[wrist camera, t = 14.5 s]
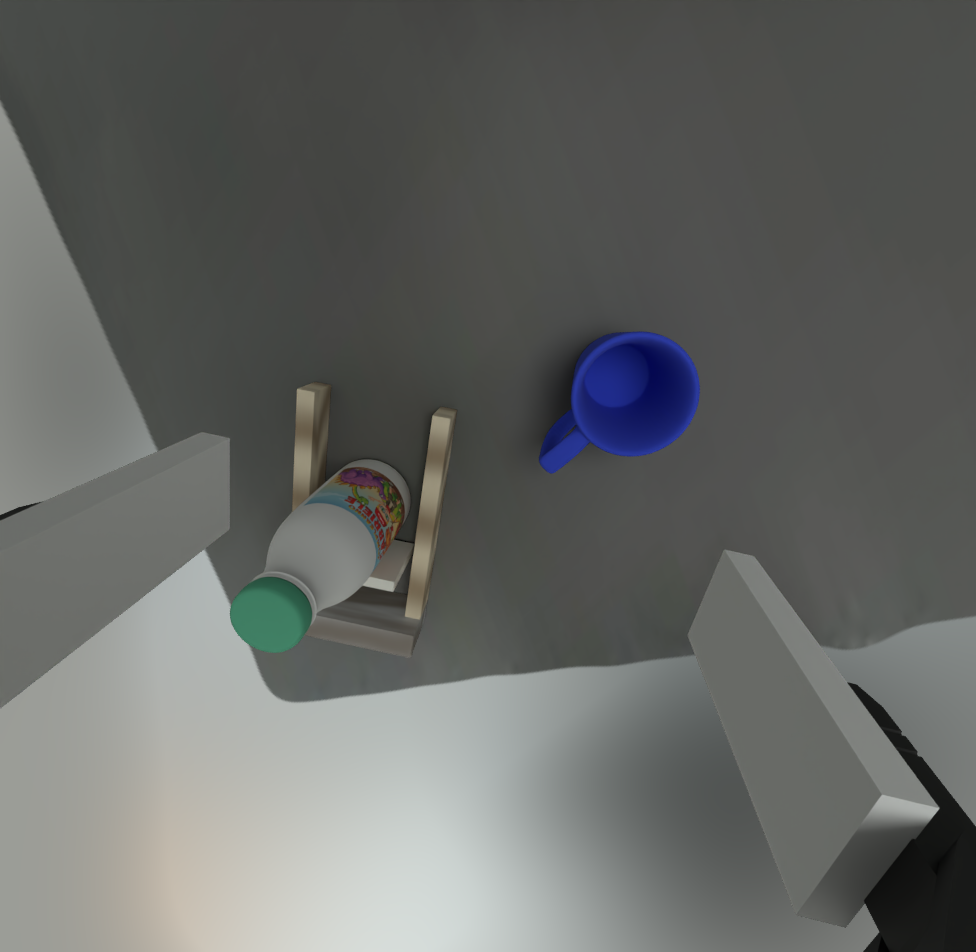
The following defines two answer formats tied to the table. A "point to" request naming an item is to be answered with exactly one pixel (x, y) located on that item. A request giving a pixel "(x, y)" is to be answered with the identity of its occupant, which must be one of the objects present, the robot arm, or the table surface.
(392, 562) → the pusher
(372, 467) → the milk bottle
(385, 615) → the lane
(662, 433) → the mug
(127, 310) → the table surface
